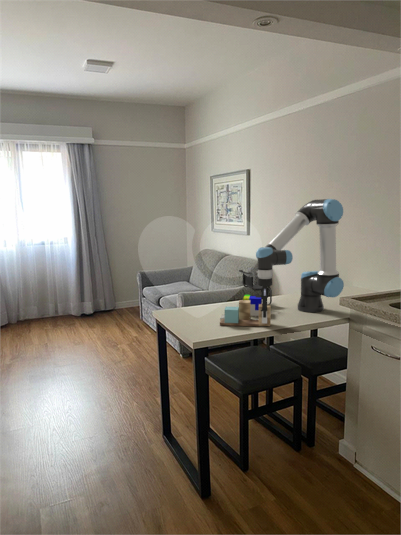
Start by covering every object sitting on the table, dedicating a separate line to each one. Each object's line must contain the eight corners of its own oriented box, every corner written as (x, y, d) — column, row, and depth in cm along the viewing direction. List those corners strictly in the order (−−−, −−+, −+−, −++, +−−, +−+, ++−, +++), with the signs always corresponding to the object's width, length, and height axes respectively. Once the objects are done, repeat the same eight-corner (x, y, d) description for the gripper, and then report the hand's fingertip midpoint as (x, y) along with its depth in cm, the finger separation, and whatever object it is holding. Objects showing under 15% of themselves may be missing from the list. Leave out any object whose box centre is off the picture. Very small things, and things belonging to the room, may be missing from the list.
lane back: (250, 317, 222) (250, 299, 221) (249, 321, 214) (250, 303, 213) (221, 316, 225) (221, 299, 223) (220, 320, 217) (220, 302, 215)
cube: (238, 319, 214) (238, 306, 213) (238, 323, 207) (238, 310, 206) (225, 319, 215) (225, 306, 214) (224, 322, 208) (224, 309, 207)
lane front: (270, 322, 212) (270, 303, 210) (270, 326, 204) (270, 307, 203) (221, 321, 216) (221, 302, 214) (219, 325, 208) (219, 306, 207)
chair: (237, 303, 256) (237, 269, 253) (261, 301, 262) (262, 268, 259) (247, 308, 244) (247, 272, 241) (272, 305, 250) (272, 271, 247)
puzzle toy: (260, 316, 226) (261, 298, 225) (243, 315, 228) (243, 298, 227) (261, 311, 236) (261, 295, 234) (244, 311, 238) (244, 294, 236)
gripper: (257, 274, 215) (257, 316, 218) (257, 280, 196) (256, 326, 199) (271, 274, 214) (271, 316, 217) (272, 280, 195) (272, 326, 198)
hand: (264, 321), depth 208 cm, fingers closed on lane front, 6 cm apart
